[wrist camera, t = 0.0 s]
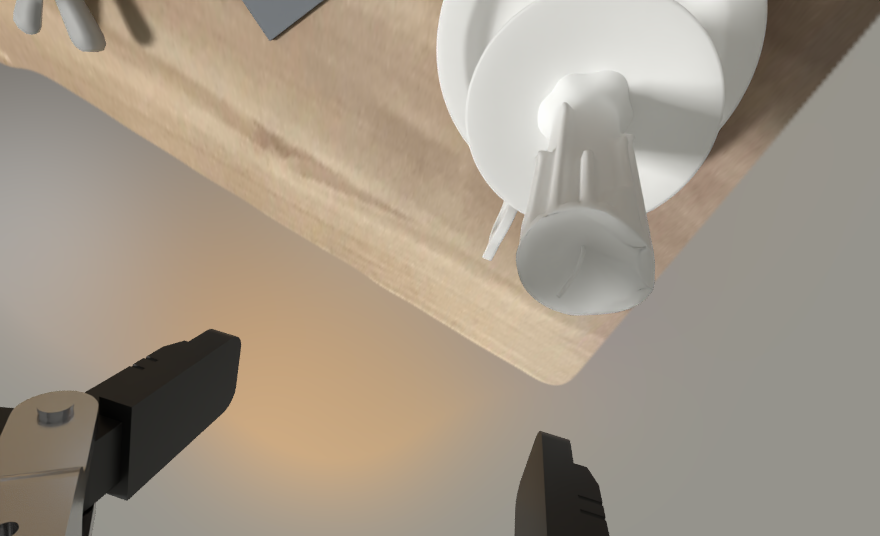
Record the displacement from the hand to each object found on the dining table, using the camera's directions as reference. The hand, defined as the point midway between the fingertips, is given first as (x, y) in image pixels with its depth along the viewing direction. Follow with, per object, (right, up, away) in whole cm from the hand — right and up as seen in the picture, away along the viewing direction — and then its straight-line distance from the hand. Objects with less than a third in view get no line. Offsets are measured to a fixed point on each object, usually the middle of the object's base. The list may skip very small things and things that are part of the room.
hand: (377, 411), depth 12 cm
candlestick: (+11, +18, +24) cm, 32 cm away
